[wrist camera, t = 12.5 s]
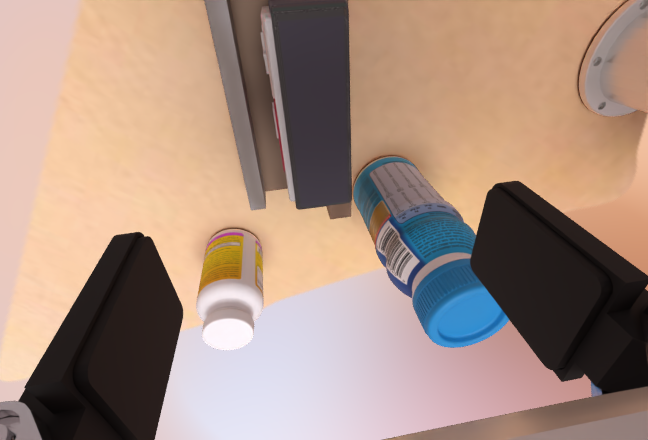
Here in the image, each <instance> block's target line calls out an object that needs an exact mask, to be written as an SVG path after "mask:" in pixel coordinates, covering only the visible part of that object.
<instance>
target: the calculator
mask: <svg viewBox="0 0 648 440" xmlns="http://www.w3.org/2000/svg"><path fill="white" fill-rule="evenodd" d="M268 4H269V6H262V10H261V22H262V25H261V27H262V32H261V40H262V46H263V56H264V60H265V66H266V73H267V74H269V76H270V83H271V90H272V96H273V98H274V102H272V105H273V114H274V121H275V128H276V134H277V138H279V144H280V151H281V157H282V164H283V170H284V172H286V179H287V186H288V193H289V199H290V201H295V202H296V208H297V209H307V208H315V207H323V206H330V205H338V204H345V203H350V202H351V201H352V179H351V123H350V67H349V11H348V3H347V1H346V0H268Z"/></svg>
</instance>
